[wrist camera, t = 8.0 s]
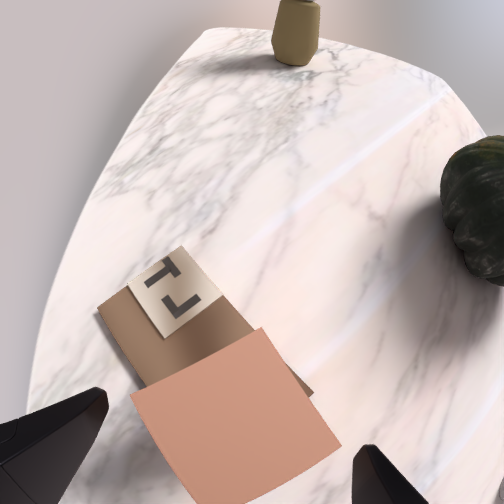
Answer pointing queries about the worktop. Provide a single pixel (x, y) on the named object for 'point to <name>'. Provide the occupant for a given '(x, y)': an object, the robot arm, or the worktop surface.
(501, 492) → the chalice
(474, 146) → the squash
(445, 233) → the worktop surface
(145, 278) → the walnut board
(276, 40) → the squeeze bottle
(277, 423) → the terracotta block
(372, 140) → the worktop surface
